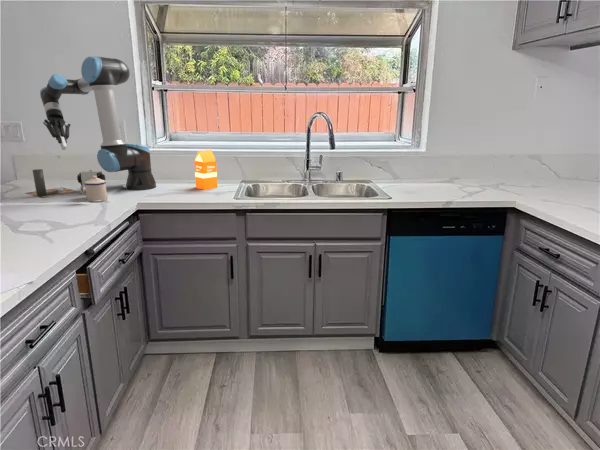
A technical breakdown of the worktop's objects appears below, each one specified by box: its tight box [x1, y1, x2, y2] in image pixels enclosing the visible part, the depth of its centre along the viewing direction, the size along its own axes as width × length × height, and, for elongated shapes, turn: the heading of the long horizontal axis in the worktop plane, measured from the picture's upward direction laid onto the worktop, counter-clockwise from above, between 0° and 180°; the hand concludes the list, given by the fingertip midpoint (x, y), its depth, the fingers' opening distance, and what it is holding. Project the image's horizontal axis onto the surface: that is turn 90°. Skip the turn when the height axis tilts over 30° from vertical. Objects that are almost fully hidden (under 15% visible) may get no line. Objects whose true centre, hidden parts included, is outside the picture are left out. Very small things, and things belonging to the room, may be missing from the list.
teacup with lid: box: [79, 176, 108, 204], centre depth 190 cm, size 12×9×12 cm
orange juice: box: [194, 149, 218, 191], centre depth 222 cm, size 8×9×20 cm
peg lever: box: [32, 168, 64, 196], centre depth 197 cm, size 13×4×12 cm, turn 155°
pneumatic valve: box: [76, 169, 106, 187], centre depth 204 cm, size 6×12×12 cm, turn 94°
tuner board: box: [24, 187, 81, 199], centre depth 202 cm, size 18×18×1 cm
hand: (64, 148), depth 211 cm, fingers closed
